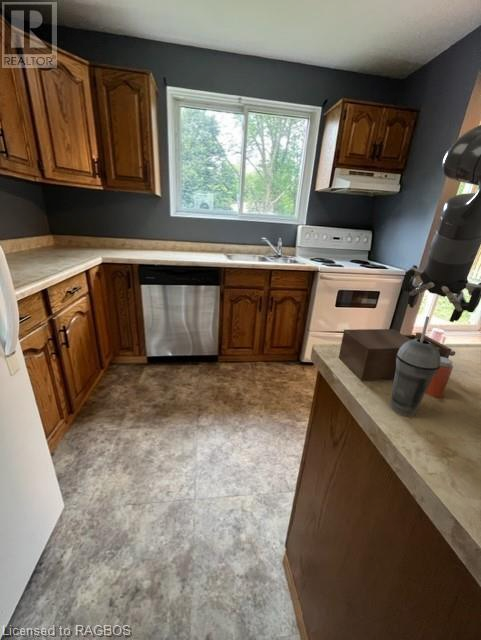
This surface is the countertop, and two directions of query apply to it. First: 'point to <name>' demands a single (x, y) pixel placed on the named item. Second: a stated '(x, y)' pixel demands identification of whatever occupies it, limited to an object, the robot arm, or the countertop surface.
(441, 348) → the dark brown angular piece
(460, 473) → the countertop surface
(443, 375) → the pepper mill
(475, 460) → the countertop surface
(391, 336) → the dark brown wooden box
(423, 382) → the beverage cup
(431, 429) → the countertop surface
